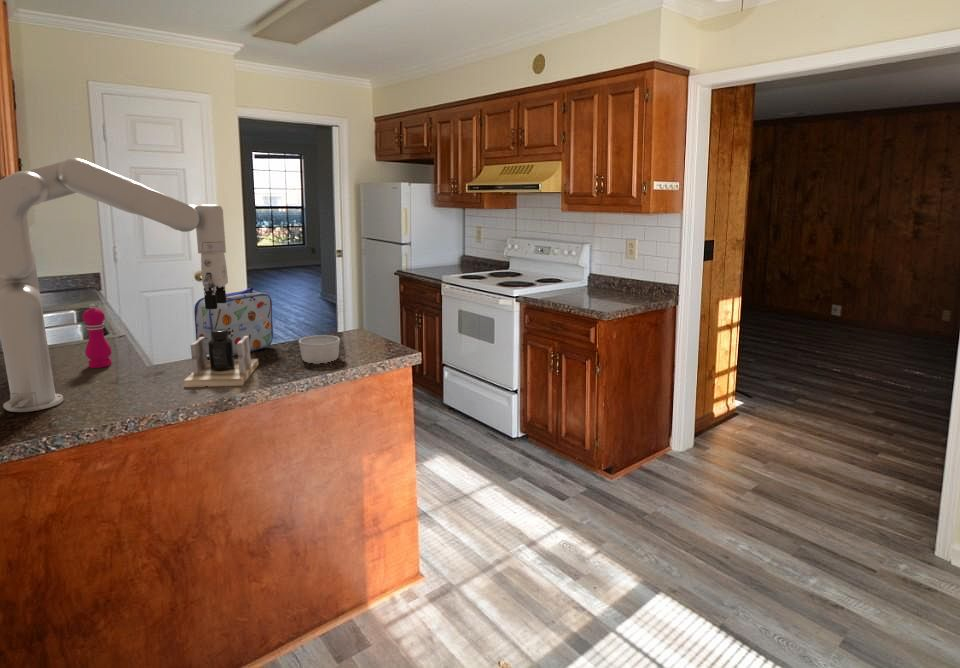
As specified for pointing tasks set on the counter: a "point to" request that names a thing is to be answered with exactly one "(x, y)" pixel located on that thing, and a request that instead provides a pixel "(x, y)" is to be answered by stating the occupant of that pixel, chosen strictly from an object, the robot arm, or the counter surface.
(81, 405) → the counter surface
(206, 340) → the lunch box
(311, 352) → the ramekin
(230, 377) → the wooden stand
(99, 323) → the pepper mill
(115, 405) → the counter surface
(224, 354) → the supplement bottle
